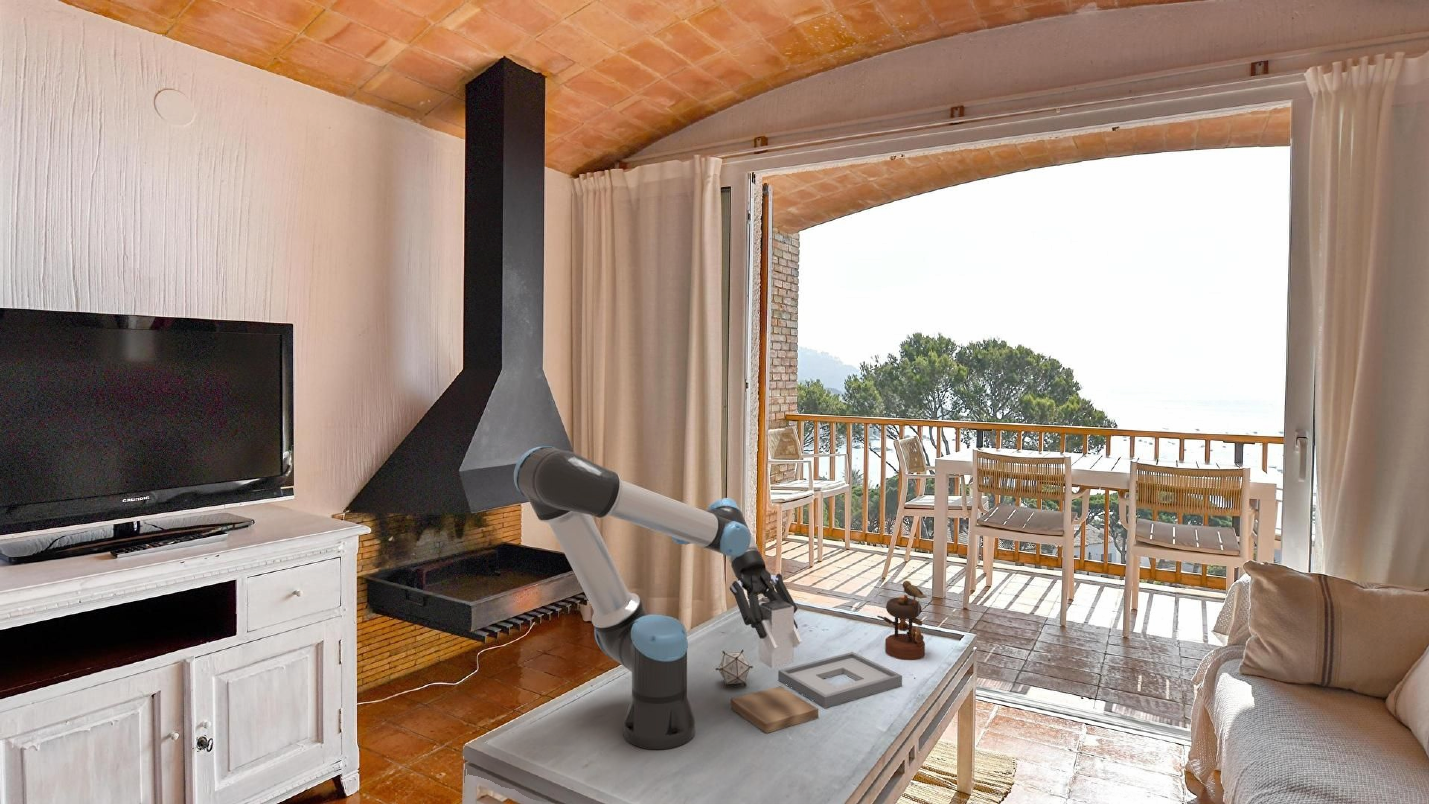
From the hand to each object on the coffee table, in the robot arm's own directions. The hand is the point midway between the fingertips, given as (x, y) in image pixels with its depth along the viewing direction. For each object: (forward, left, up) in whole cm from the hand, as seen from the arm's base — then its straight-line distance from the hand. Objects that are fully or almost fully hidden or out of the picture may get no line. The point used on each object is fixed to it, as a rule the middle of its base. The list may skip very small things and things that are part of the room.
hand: (785, 647), depth 165 cm
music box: (+25, +47, -16) cm, 56 cm away
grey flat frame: (+10, +22, -16) cm, 29 cm away
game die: (-15, +15, -16) cm, 27 cm away
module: (-3, +3, -4) cm, 6 cm away
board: (-3, +2, -16) cm, 16 cm away
